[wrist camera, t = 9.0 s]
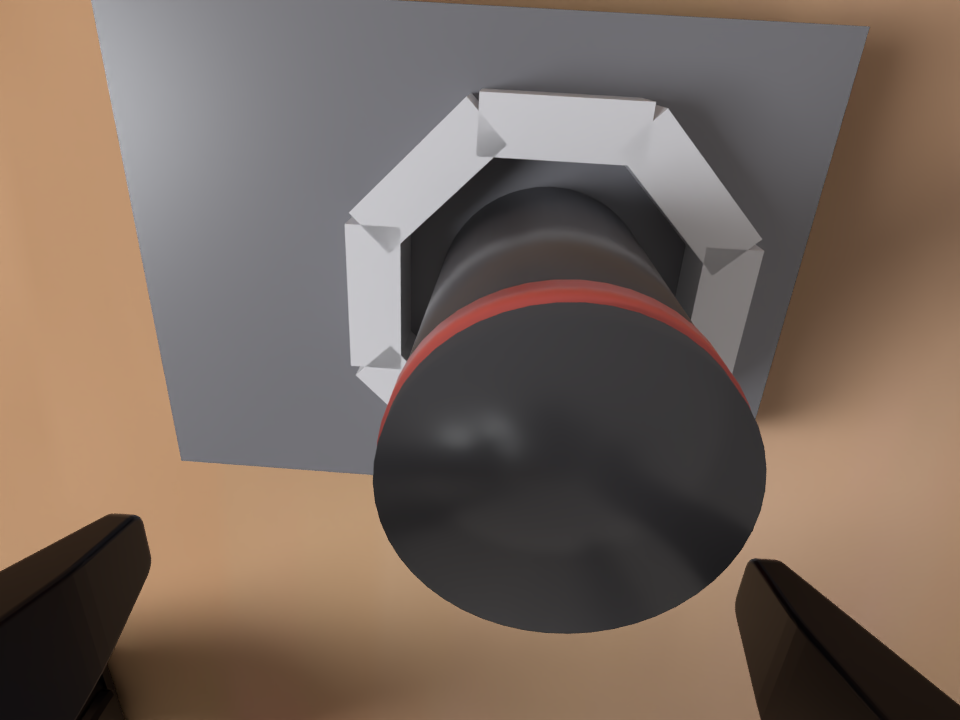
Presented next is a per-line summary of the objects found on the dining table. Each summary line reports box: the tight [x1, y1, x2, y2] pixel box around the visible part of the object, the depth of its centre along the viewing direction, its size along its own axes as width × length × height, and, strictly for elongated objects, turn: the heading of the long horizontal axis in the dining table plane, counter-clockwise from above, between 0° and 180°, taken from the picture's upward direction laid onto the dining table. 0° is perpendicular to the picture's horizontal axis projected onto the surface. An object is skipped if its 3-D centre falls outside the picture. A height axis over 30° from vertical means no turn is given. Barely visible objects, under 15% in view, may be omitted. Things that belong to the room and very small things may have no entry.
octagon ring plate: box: [91, 0, 870, 475], centre depth 16 cm, size 16×12×6 cm
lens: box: [373, 187, 766, 634], centre depth 12 cm, size 5×5×8 cm
